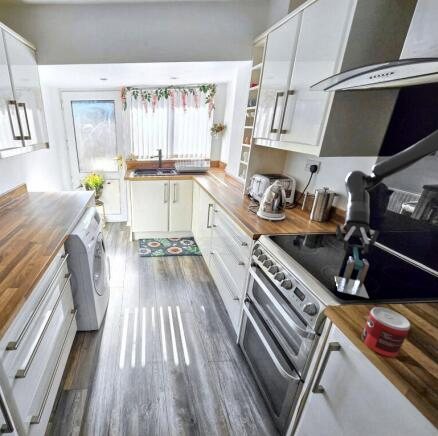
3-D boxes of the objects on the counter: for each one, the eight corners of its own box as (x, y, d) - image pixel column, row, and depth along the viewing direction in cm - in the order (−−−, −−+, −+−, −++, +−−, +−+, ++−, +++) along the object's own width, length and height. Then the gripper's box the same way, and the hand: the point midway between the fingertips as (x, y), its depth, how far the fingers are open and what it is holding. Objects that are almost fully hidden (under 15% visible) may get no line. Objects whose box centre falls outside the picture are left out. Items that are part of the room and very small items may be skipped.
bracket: (333, 278, 100) (341, 251, 96) (361, 284, 96) (371, 256, 91) (337, 293, 91) (346, 264, 87) (368, 300, 87) (379, 270, 82)
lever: (345, 246, 99) (347, 242, 97) (361, 249, 96) (363, 244, 95) (348, 267, 91) (350, 263, 89) (365, 271, 88) (368, 266, 87)
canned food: (371, 332, 74) (382, 304, 70) (403, 353, 67) (418, 323, 63) (353, 339, 72) (364, 310, 68) (385, 362, 65) (399, 331, 61)
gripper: (376, 220, 100) (374, 258, 95) (333, 215, 107) (330, 251, 102) (383, 212, 94) (382, 253, 89) (338, 207, 101) (334, 245, 96)
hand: (354, 251), depth 95 cm, fingers closed on lever, 5 cm apart
